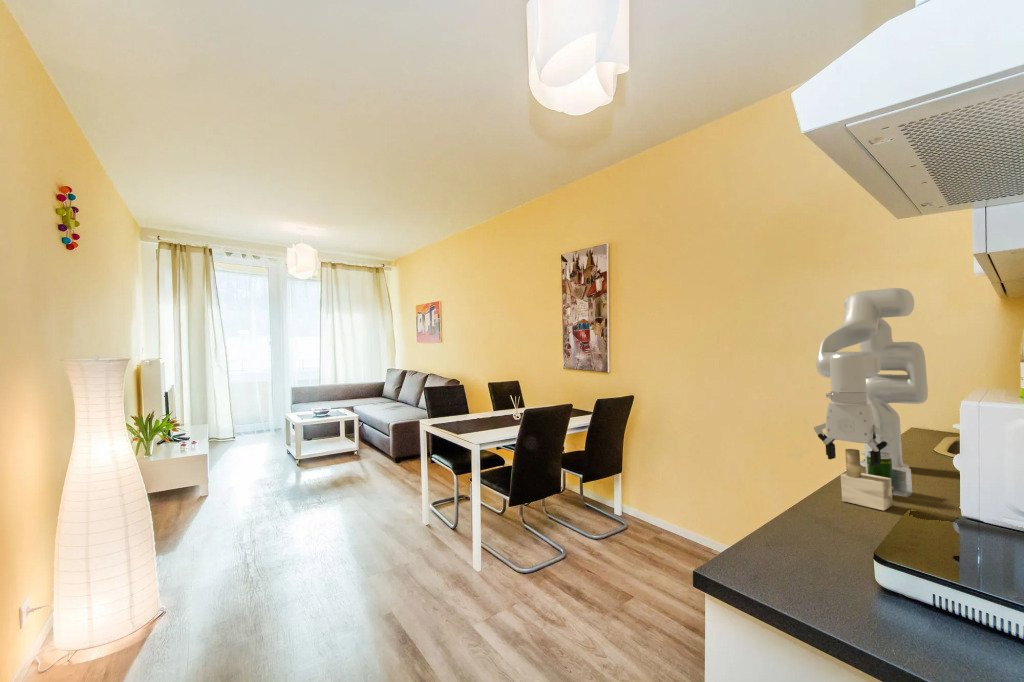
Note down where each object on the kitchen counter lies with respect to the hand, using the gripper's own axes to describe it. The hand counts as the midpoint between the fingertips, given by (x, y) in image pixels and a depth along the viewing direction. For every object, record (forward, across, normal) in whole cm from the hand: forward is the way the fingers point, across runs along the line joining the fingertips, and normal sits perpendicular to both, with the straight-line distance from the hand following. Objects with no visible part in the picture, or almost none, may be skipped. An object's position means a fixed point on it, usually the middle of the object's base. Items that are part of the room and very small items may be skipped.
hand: (852, 462), depth 115 cm
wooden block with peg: (+11, +2, +2) cm, 11 cm away
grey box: (+11, +2, +18) cm, 21 cm away
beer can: (+11, +2, +12) cm, 17 cm away
